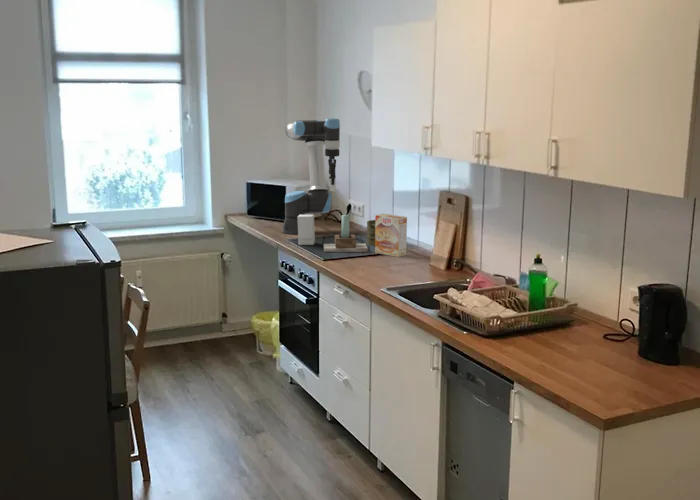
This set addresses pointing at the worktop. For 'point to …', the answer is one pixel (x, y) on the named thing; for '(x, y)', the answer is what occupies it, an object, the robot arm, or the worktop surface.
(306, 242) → the skincare box
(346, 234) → the peg
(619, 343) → the worktop surface
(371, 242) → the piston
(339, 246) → the socket board
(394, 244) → the coffeecake box
